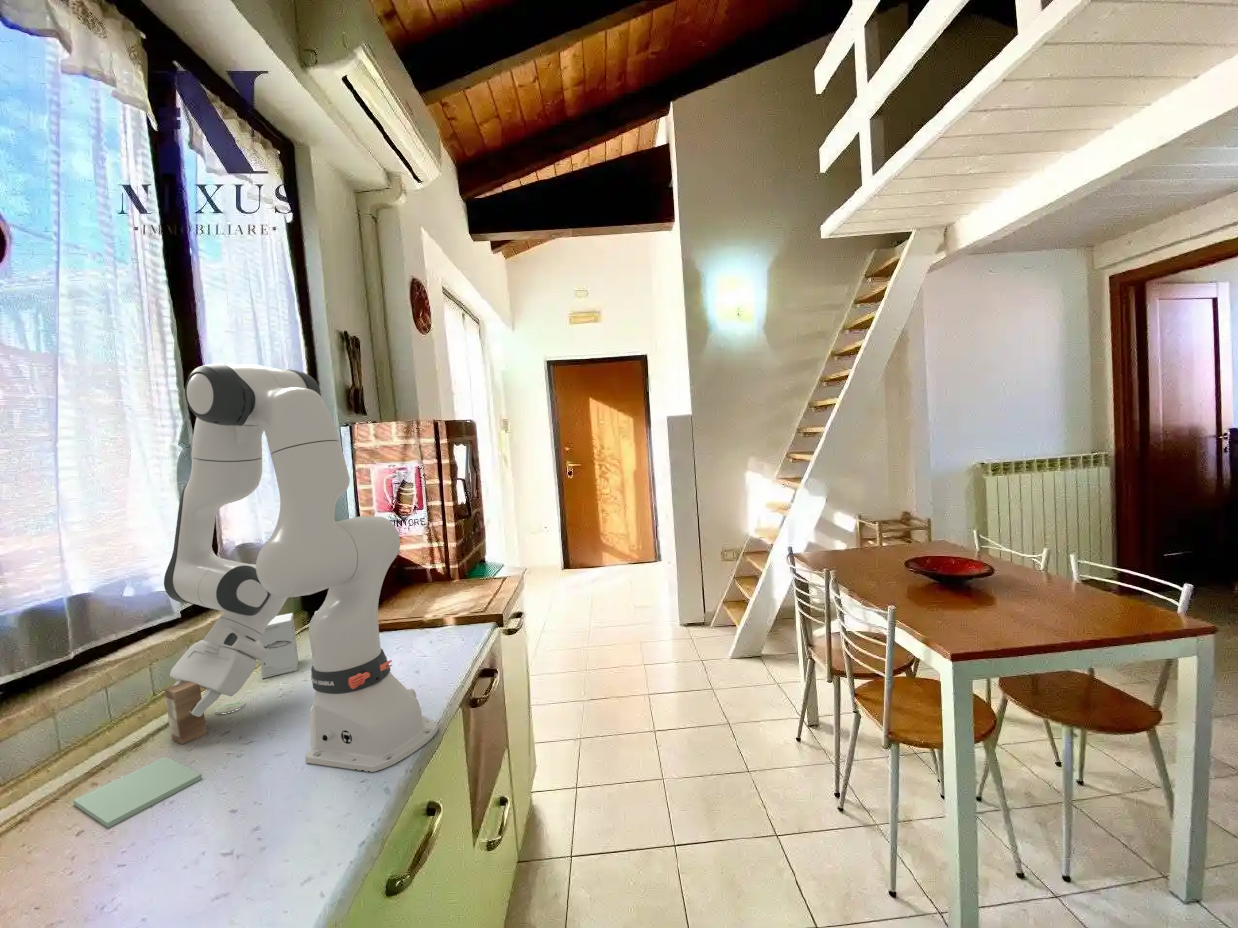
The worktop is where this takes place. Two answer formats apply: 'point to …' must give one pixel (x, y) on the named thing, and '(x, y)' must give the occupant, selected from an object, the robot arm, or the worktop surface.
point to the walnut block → (184, 712)
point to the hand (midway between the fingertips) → (181, 711)
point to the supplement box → (279, 647)
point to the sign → (230, 706)
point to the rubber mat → (136, 791)
